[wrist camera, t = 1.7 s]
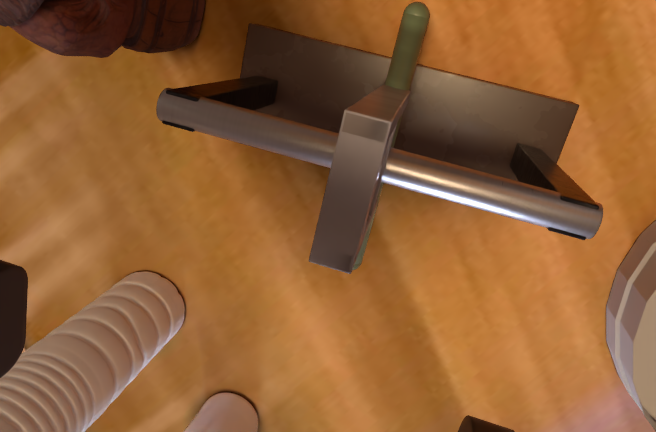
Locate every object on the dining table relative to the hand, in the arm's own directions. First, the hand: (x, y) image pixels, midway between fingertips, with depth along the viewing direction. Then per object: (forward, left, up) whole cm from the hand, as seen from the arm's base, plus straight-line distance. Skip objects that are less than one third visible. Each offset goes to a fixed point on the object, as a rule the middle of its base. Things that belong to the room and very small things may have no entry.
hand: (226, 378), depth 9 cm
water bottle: (-21, -15, -30) cm, 40 cm away
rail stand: (+1, +1, -30) cm, 30 cm away
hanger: (+1, +1, -23) cm, 23 cm away
